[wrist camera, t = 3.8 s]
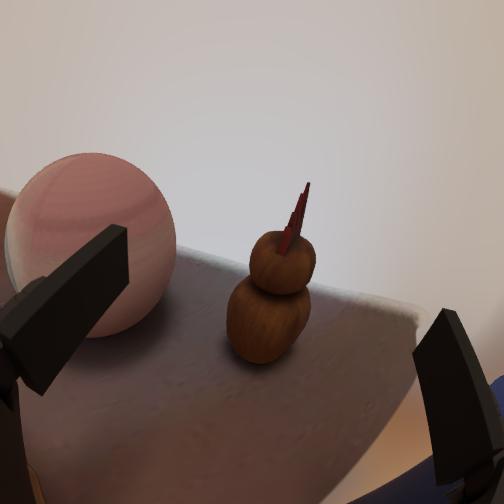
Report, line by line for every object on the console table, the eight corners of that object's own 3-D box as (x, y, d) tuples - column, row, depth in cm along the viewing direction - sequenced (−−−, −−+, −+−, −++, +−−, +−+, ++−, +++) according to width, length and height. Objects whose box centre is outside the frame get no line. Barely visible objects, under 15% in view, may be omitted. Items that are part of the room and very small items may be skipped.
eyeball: (20, 288, 25) (-5, 153, 17) (134, 255, 35) (136, 132, 27) (53, 400, 17) (-21, 218, 9) (204, 335, 26) (227, 172, 19)
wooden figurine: (260, 314, 30) (297, 170, 23) (304, 348, 27) (362, 200, 20) (208, 343, 26) (233, 177, 18) (254, 386, 23) (309, 215, 15)
